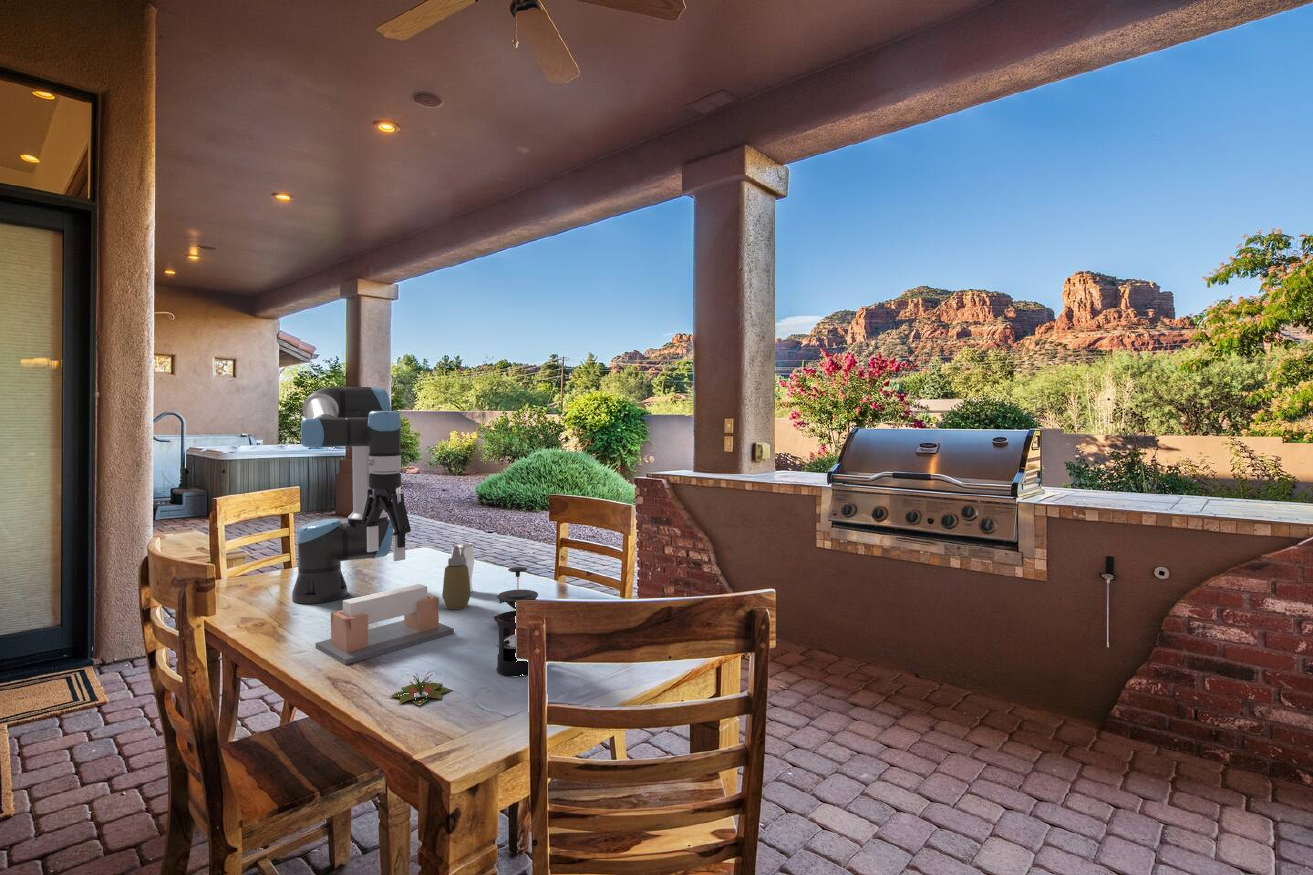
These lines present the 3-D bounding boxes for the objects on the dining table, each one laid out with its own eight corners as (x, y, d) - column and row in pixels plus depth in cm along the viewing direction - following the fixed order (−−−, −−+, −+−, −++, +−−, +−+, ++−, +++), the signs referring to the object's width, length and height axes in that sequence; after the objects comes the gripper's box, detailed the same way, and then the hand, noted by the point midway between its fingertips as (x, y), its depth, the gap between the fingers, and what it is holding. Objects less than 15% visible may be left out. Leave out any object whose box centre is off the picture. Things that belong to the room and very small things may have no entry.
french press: (509, 681, 141) (509, 575, 140) (485, 669, 147) (485, 568, 146) (553, 666, 149) (553, 566, 148) (528, 655, 156) (528, 559, 155)
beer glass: (478, 590, 210) (478, 544, 209) (465, 596, 203) (465, 548, 203) (460, 588, 212) (460, 542, 212) (446, 594, 206) (446, 546, 205)
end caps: (315, 647, 159) (314, 611, 159) (421, 619, 181) (421, 587, 180) (345, 664, 149) (345, 625, 149) (454, 633, 170) (453, 599, 170)
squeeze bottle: (462, 612, 188) (462, 550, 187) (436, 610, 189) (436, 548, 189) (475, 604, 196) (475, 544, 195) (451, 602, 197) (450, 542, 196)
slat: (342, 624, 158) (342, 600, 158) (419, 606, 173) (419, 583, 173) (350, 628, 156) (350, 603, 155) (427, 609, 171) (427, 586, 171)
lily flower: (376, 700, 132) (376, 678, 132) (423, 679, 142) (423, 658, 142) (418, 714, 126) (418, 691, 126) (464, 691, 137) (464, 670, 136)
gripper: (347, 469, 170) (348, 550, 171) (395, 477, 154) (396, 566, 155) (375, 467, 176) (376, 545, 177) (425, 475, 160) (425, 561, 161)
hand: (385, 555), depth 166 cm, fingers open, 13 cm apart
